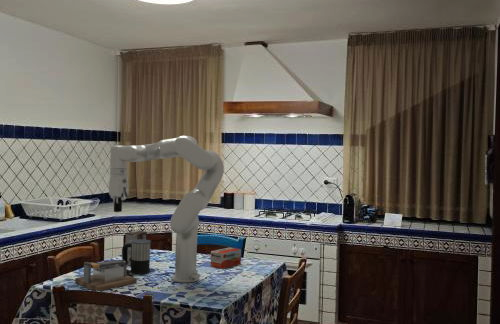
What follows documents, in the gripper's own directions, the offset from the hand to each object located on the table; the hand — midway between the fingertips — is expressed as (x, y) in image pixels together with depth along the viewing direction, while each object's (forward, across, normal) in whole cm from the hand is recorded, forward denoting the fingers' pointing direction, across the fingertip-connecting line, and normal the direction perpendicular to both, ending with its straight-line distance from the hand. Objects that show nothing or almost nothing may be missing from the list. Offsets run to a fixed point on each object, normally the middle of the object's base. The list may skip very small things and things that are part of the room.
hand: (117, 211), depth 228 cm
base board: (+29, -10, +12) cm, 33 cm away
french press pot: (+29, +11, -18) cm, 36 cm away
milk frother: (+29, -5, -7) cm, 31 cm away
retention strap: (+21, -10, +11) cm, 26 cm away
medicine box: (+30, -21, -50) cm, 62 cm away
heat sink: (+27, -10, +12) cm, 31 cm away
